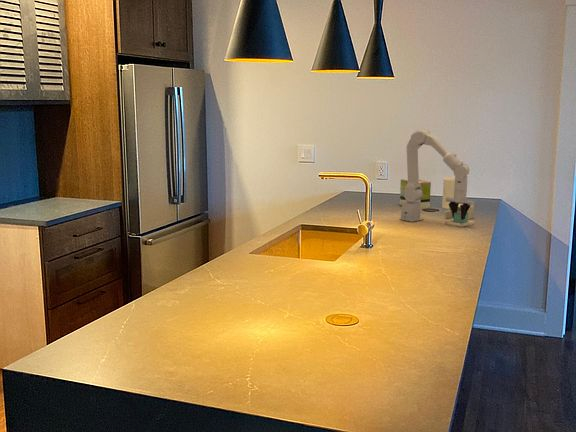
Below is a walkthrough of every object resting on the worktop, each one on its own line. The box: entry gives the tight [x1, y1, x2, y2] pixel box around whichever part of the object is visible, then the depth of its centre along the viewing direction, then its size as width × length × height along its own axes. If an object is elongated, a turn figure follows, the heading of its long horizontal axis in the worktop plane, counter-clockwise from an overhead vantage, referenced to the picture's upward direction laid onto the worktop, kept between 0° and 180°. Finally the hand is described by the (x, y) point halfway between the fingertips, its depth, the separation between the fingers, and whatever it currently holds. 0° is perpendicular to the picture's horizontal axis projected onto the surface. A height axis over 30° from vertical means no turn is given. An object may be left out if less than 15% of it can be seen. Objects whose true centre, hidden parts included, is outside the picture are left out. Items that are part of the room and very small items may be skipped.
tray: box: [445, 219, 475, 228], centre depth 312 cm, size 11×9×2 cm
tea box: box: [399, 178, 432, 210], centre depth 357 cm, size 15×10×15 cm, turn 25°
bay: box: [443, 204, 475, 220], centre depth 327 cm, size 12×10×6 cm
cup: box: [441, 177, 455, 210], centre depth 356 cm, size 8×8×16 cm
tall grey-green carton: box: [452, 212, 469, 224], centre depth 311 cm, size 6×4×5 cm, turn 132°
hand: (458, 218), depth 310 cm, fingers closed on tall grey-green carton, 4 cm apart
